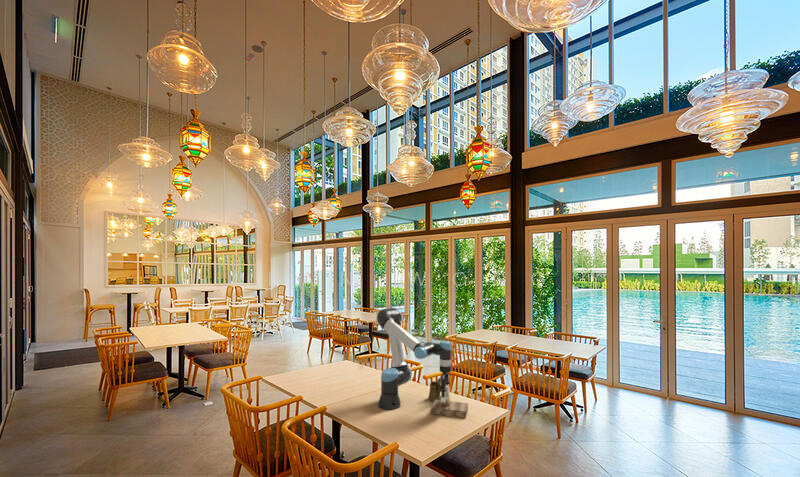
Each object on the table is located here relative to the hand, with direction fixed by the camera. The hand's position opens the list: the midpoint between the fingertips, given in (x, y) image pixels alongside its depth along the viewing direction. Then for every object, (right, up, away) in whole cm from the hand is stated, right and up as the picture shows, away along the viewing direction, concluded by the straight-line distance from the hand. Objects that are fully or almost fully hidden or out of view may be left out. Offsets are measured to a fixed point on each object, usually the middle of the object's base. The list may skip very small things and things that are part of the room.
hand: (445, 398), depth 234 cm
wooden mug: (-4, -10, +19) cm, 22 cm away
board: (+3, -8, -2) cm, 9 cm away
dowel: (0, -8, -1) cm, 8 cm away
